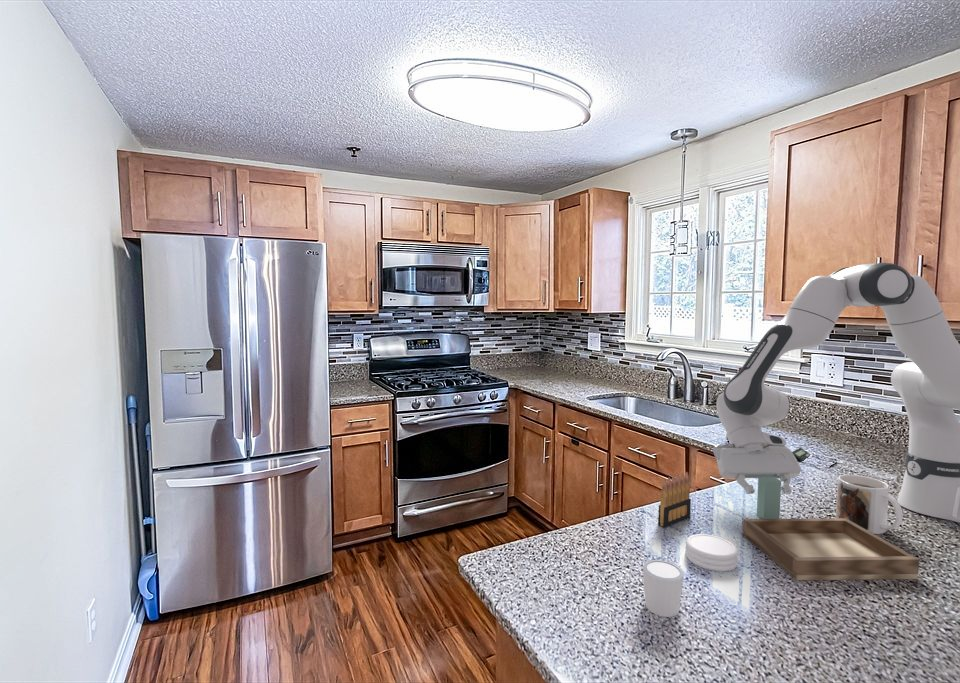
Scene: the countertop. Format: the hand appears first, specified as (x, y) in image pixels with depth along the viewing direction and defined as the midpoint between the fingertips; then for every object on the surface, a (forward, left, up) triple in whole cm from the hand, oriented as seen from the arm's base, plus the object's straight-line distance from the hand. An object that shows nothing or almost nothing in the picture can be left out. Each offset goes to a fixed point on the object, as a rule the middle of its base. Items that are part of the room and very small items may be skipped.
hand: (769, 493), depth 122 cm
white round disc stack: (+25, +20, -7) cm, 33 cm away
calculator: (-44, -44, -7) cm, 63 cm away
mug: (-20, +6, -7) cm, 22 cm away
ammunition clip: (+25, +2, -7) cm, 26 cm away
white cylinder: (+42, +36, -7) cm, 56 cm away
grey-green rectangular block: (0, 0, -6) cm, 6 cm away
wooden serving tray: (0, +19, -6) cm, 20 cm away
